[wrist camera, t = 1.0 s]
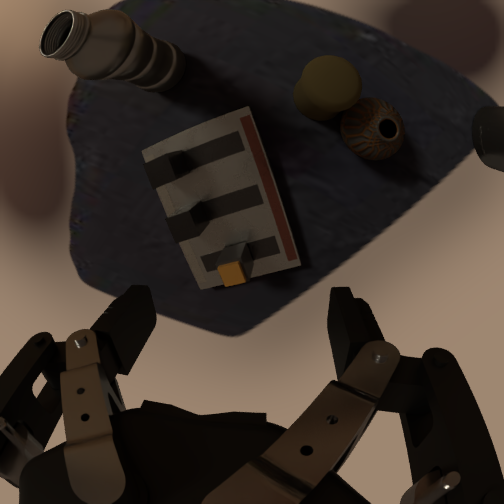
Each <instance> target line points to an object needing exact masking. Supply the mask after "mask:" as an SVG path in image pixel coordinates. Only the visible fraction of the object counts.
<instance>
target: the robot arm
mask: <svg viewBox="0 0 504 504" xmlns="http://www.w3.org/2000/svg"><path fill="white" fill-rule="evenodd" d="M472 136H473V143H474V147H475V150H476V152H477V154H478V156H479V158H480V159H481V161H482V162H483V163H484V164H485V165H486V166H488V167H490V168H493V169H496V170H499V171H502V172H504V107H501V106H486V107H483V108H481V109H480V110H479V111H478V112H477V114H476V115H475V118H474V121H473V126H472ZM156 320H157V319H156V311H155V308H154V304H153V300H152V296H151V291H150V288H149V287H148V286H147V285H131V286H130V287H129V289H128V290H127V291H126V292H125V293H124V294H123V295H121V296H120V297H118V298H117V299H115V300H114V301H113V302H112V303H111V304H110V305H109V307H108V308H107V309H106V310H105V311H104V313H103V314H102V315H101V316H100V317H99V318H98V320H97V321H96V322H95V323H94V324H93V326H92V327H91V328H90V329H82V330H78V331H76V332H74V333H72V334H71V335H70V336H69V337H68V339H67V340H66V341H65V342H55V341H54V339H53V337H52V335H51V334H50V333H48V332H41V333H38V334H36V335H34V336H33V337H31V338H30V340H29V341H28V342H27V343H26V344H25V345H24V347H23V348H22V349H21V350H20V351H19V353H18V354H17V355H16V356H15V357H14V359H13V360H12V361H11V363H10V364H9V365H8V366H7V368H6V369H5V370H4V371H3V373H2V374H1V376H0V477H1V478H4V479H5V480H6V481H8V482H9V483H10V484H12V485H13V486H15V487H16V488H19V504H371V503H370V502H369V501H368V500H366V499H365V498H364V497H363V496H362V495H360V494H359V493H358V492H357V491H356V490H355V489H353V488H352V487H351V486H350V485H349V484H348V483H347V482H346V481H344V480H343V479H342V478H341V477H340V476H339V475H338V474H337V472H338V471H339V469H340V468H341V467H342V465H343V464H344V463H345V461H346V460H347V458H348V457H349V455H350V453H351V452H352V451H353V449H354V448H355V446H356V444H357V443H358V441H359V440H360V438H361V437H362V435H363V434H364V432H365V431H366V429H367V427H368V426H369V424H370V423H371V420H372V419H373V417H374V416H375V414H376V412H377V411H378V410H379V411H387V412H395V413H399V415H400V419H401V424H402V428H403V433H404V437H405V442H406V447H407V452H408V458H409V463H410V469H411V475H412V482H413V486H412V487H410V488H409V489H408V490H407V491H406V492H405V493H404V495H403V496H402V498H401V501H400V504H504V479H503V475H502V472H501V468H500V464H499V461H498V458H497V454H496V451H495V449H494V445H493V443H492V440H491V437H490V434H489V432H488V429H487V426H486V424H485V421H484V419H483V416H482V414H481V411H480V409H479V407H478V404H477V402H476V400H475V397H474V396H473V393H472V391H471V389H470V387H469V384H468V383H467V380H466V378H465V376H464V374H463V372H462V370H461V368H460V366H459V364H458V362H457V360H456V358H455V357H454V355H452V354H451V353H450V352H449V351H447V350H445V349H442V348H430V349H428V350H426V351H425V352H424V354H423V356H422V358H415V357H407V356H402V355H400V353H399V350H398V349H397V348H396V347H395V346H394V345H393V344H391V343H389V342H386V341H385V339H384V337H383V335H382V332H381V330H380V328H379V326H378V323H377V321H376V320H375V317H374V315H373V314H372V310H371V308H370V306H369V304H368V303H366V302H365V301H364V300H363V299H361V298H354V297H353V294H352V292H351V290H350V288H349V287H332V288H331V292H330V301H329V310H328V318H327V328H328V334H329V339H330V344H331V348H332V354H333V359H334V364H335V369H336V374H337V379H338V381H335V380H332V381H331V382H330V383H329V384H328V385H327V386H326V387H325V388H324V389H323V391H322V392H321V393H320V394H319V395H318V397H317V398H316V399H315V400H314V401H313V402H312V404H311V405H310V406H309V407H308V408H307V409H306V410H305V411H304V412H303V414H302V415H301V416H300V417H299V418H298V419H297V420H296V421H295V422H294V423H293V424H292V425H291V426H290V428H289V429H286V428H284V427H282V426H279V425H276V424H273V423H270V422H267V420H266V413H251V412H228V413H219V414H209V415H197V414H194V413H192V412H189V411H186V410H184V409H181V408H178V407H176V406H173V405H170V404H164V403H158V402H153V401H148V400H144V401H143V403H142V406H141V408H134V409H129V410H126V408H125V405H124V402H123V399H122V396H121V392H120V389H119V385H118V382H117V380H116V378H115V377H116V375H117V373H118V374H123V375H128V374H129V372H130V370H131V369H132V366H133V365H134V363H135V361H136V359H137V358H138V356H139V354H140V352H141V351H142V349H143V347H144V345H145V343H146V342H147V340H148V338H149V336H150V335H151V333H152V331H153V329H154V328H155V325H156ZM41 372H42V374H43V375H44V377H45V379H46V380H47V383H46V384H45V386H44V387H43V389H42V390H41V392H40V394H39V395H38V397H37V398H36V397H35V396H34V394H33V391H32V386H33V383H34V382H35V380H36V379H37V377H38V376H39V375H40V373H41ZM62 413H63V417H64V426H65V433H66V440H67V441H66V442H63V443H61V444H60V445H58V446H56V447H54V448H52V449H50V450H48V451H46V452H44V449H45V447H46V445H47V443H48V441H49V439H50V437H51V435H52V433H53V431H54V429H55V427H56V425H57V423H58V421H59V419H60V417H61V415H62Z"/></svg>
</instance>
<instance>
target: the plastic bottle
mask: <svg viewBox="0 0 504 504" xmlns="http://www.w3.org/2000/svg"><path fill="white" fill-rule="evenodd" d="M39 49H40V53H41V54H42V56H44V57H47V58H54V59H56V60H61V61H64V60H65V62H66V64H67V66H68V68H69V70H70V71H71V72H72V73H73V74H75V75H76V76H78V77H79V78H81V79H84V80H106V79H115V80H123V81H127V82H130V83H132V84H135V85H136V86H137V87H139V88H140V89H142V90H144V91H147V92H152V93H154V92H163V91H166V90H169V89H171V88H172V87H174V86H175V85H176V84H177V83H178V82H179V81H180V79H181V78H182V76H183V74H184V72H185V68H186V59H185V56H184V54H183V53H182V51H181V50H180V48H179V47H178V46H177V45H175V44H173V43H170V42H168V41H164V40H159V39H157V38H154V37H152V36H150V35H149V34H148V33H146V32H145V31H144V30H142V29H141V28H140V27H139V26H138V25H137V24H136V23H135V22H134V21H133V20H132V19H131V18H130V17H129V16H128V15H126V14H125V13H124V12H122V11H119V10H108V9H106V10H100V11H98V12H95V13H92V14H89V15H87V14H85V13H82V12H75V11H72V10H64V11H61V12H59V13H58V14H57V15H55V16H54V17H53V18H52V19H51V20H50V21H49V23H48V24H47V25H46V27H45V29H44V31H43V33H42V35H41V39H40V44H39Z"/></svg>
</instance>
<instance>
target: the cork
mask: <svg viewBox="0 0 504 504" xmlns="http://www.w3.org/2000/svg"><path fill="white" fill-rule="evenodd" d="M361 90H362V82H361V77H360V75H359V73H358V71H357V69H356V68H355V67H354V66H353V65H352V64H351V63H350V62H348V61H347V60H345V59H343V58H340V57H337V56H330V55H325V56H321V57H318V58H315V59H313V60H312V61H310V62H309V63H308V64H307V65H306V67H305V68H304V70H303V73H302V77H301V79H300V80H299V81H298V82H297V84H296V85H295V88H294V92H293V97H294V102H295V105H296V107H297V109H298V110H299V111H300V112H301V113H302V114H303V115H305V116H306V117H308V118H309V119H313V120H317V121H326V120H329V119H332V118H334V117H335V116H336V115H338V114H339V112H340V111H343V110H347V109H349V108H350V107H352V106H353V105H354V104H356V102H357V101H358V99H359V98H360V95H361Z"/></svg>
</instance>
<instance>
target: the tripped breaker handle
mask: <svg viewBox="0 0 504 504" xmlns="http://www.w3.org/2000/svg"><path fill="white" fill-rule="evenodd" d="M215 265H216V268H217V270H218V272H219V275H220V277H221V279H222V281H223V284H224V286H225V287H228V286H232V285H236V284H240V283H245V282H248V281H250V278H251V274H252V270H253V266H254V262H253V259H252V256H251V254H250V251H249V248H248V246H247V243H246V242H244V243H240V244H236V245H233V246H229V247H226V248H223V250H222V252H221V254H220V256H219V258H218V260H217V261H216V263H215Z"/></svg>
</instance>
